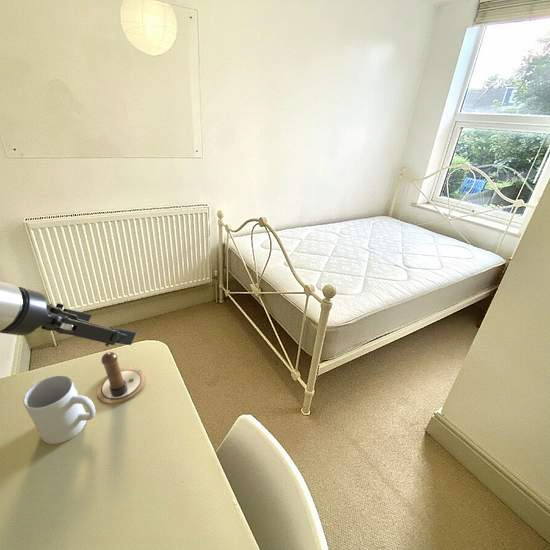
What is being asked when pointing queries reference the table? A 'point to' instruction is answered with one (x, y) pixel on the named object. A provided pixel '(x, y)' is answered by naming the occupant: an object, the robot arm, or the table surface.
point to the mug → (57, 409)
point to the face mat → (133, 382)
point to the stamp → (114, 374)
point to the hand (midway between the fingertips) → (109, 329)
